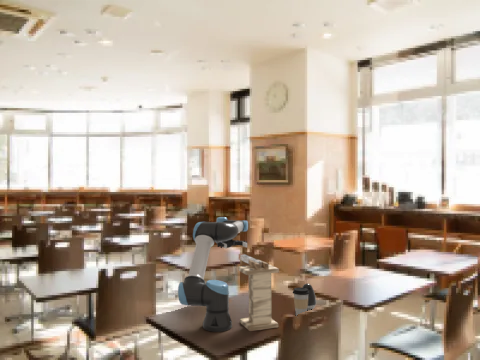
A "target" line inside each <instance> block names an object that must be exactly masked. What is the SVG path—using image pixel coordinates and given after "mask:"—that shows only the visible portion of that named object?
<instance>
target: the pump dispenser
mask: <svg viewBox="0 0 480 360" xmlns="http://www.w3.org/2000/svg"><path fill="white" fill-rule="evenodd" d="M301 288H307V289H308V291H309V294H308V307H307V311H312V310H314V309H315V307H316V306H317V298H316V294H315V291H314V288H313V286H312V285H311V284H310V283H304V284H303V285H302V287H301ZM311 309H312V310H311Z"/></svg>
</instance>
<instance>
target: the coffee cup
mask: <svg viewBox="0 0 480 360" xmlns="http://www.w3.org/2000/svg"><path fill="white" fill-rule="evenodd" d="M292 294H293V300H294V301H293V302H294V309H295V316H296V317H297V315H298V314H300V313H302V312H305V311H308V310H307V307H308V294H309V291H308V289H307V288H302V287H295V288H293V290H292Z"/></svg>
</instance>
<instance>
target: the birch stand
mask: <svg viewBox="0 0 480 360" xmlns="http://www.w3.org/2000/svg"><path fill="white" fill-rule="evenodd" d="M258 260H259V261H261V262H262V268H260V264H258V263H256V262H254V261H252V260H249V264H248V265H242V266H241V265H240V266H237V269H238V271H239V272H240V273H242V274H244V275H246V276H248V317H244V318H240V319H239V323H240V325H242V326H243V327H244V328H246V329H247V330H248V331H249V332H253V331H261V330H268V329H277V328H279V323H278V322H277V321H275V319H273V318H272V274H277V273H280V268H278V267H276V266H274V265H271V264H269V263H268V262H266V261H263V260H261V259H258Z"/></svg>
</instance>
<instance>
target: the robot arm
mask: <svg viewBox="0 0 480 360" xmlns="http://www.w3.org/2000/svg"><path fill="white" fill-rule="evenodd" d="M248 230H249V222H248V220H240V219H239V220H234V219H228V218H227V217H225V216H219V217H217V218H216V221H199V222H197V223H196V224H195V225H194V227H193V231H192V238H193V241H194V243H195V248H194V251H193V255H192V259H191V263H190V268H189V271H188V275H187V276H185V278H184V280H183V281H181V282H179V283H178V287H177V296H178V301H179V304H181V305H182V306H189V307H190V306H195V307H196V306H198V307H205V310H206V311H205V315H204V319H203V322H202V329H203V330H206V331H208V332H216V333H218V332H219V333H220V332H225V331H230V329H232V327H233V322H232V318H231V315H230V311H229V309H230V308H229V306H230V305H229V304H230V302H229V301H230V298H229V296H230V291H229V285H228V284H227V282H225V281H222V280H218V279H209V280H207V281H206V280H205V274H206V269H207V265H208V260H209V258H210V257H209V255H210V251H211V247H213V246H214V245H215V243H216V245H217V248H220V249H229V248H231V247H232V246H233V247H235V246H242V247H244V248H248V241H246V240H239V239H237V240H236V239H235V238H236V237H237V236H238V234H239V233H241V232H247V231H248ZM234 239H235V240H234Z"/></svg>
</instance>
